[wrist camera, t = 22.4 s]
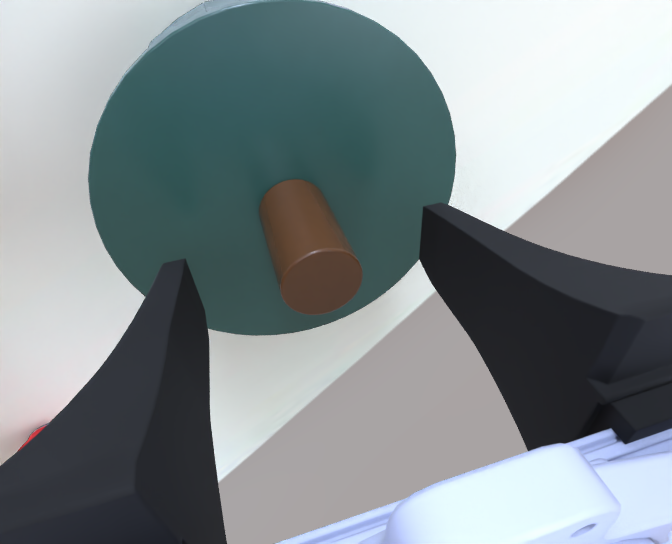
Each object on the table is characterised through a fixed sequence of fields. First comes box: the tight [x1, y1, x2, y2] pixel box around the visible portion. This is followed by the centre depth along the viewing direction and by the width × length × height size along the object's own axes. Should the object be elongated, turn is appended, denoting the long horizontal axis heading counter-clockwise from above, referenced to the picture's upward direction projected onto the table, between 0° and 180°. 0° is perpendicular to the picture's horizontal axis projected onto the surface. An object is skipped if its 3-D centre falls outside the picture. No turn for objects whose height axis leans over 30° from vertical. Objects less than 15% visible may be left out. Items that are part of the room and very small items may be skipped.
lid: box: [88, 0, 456, 335], centre depth 14 cm, size 13×13×5 cm
